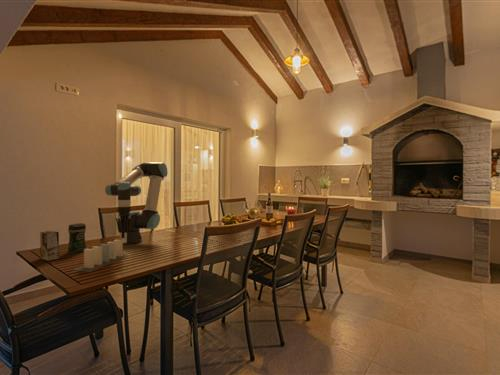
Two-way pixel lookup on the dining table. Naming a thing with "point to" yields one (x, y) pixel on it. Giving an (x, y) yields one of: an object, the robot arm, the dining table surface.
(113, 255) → the domino
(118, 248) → the domino
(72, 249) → the coffee jar
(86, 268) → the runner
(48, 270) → the dining table surface
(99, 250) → the domino
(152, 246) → the dining table surface
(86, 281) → the dining table surface
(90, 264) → the domino
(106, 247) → the domino
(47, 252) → the coffee box
